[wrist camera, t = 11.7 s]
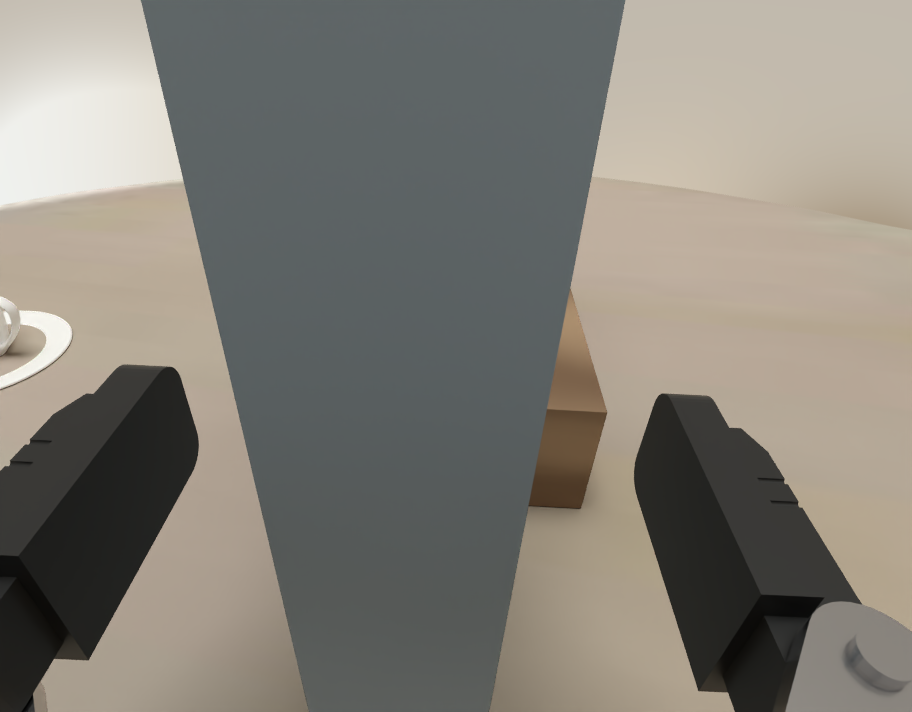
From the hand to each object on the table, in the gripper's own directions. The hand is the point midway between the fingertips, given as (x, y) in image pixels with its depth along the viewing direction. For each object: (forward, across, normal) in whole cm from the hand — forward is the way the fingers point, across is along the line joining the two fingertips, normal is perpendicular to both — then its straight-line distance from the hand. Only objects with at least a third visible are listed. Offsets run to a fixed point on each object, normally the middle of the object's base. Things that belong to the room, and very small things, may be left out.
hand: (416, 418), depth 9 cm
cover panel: (+1, 0, +11) cm, 11 cm away
